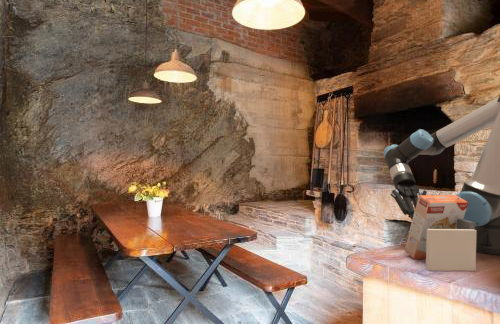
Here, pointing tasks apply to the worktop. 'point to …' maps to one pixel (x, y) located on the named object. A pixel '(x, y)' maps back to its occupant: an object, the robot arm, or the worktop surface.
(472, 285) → the worktop surface
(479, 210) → the robot arm
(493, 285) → the worktop surface
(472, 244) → the shelf bookend
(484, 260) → the worktop surface
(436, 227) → the cracker box
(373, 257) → the worktop surface
